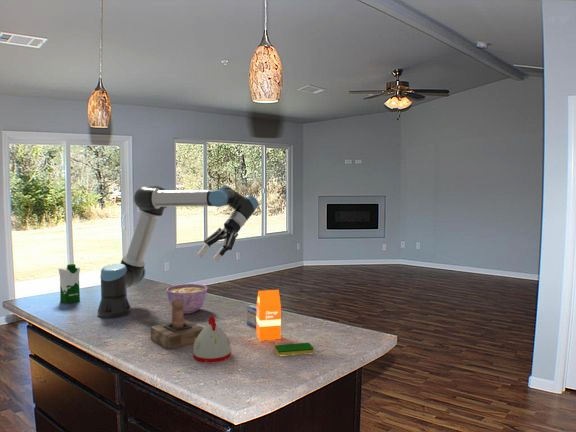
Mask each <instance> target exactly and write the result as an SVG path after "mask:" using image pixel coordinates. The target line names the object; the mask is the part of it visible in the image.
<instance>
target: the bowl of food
mask: <svg viewBox="0 0 576 432" xmlns="http://www.w3.org/2000/svg"><path fill="white" fill-rule="evenodd" d="M207 293H208V287H207V286H206V285H204V284H198V283H183V284H182V283H181V284H175V285H172V286H171V285H170V286H169V287H166V295H167V297H168V302H169V305H170V307H171V308H172V301H173V300H183V314H184V315H185V314H193V313H195V312H196V311H198V310H200V309H201V308H202V307H203V306H204V303H205V300H206V298H207V297H206V295H207Z"/></svg>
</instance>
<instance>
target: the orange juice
mask: <svg viewBox="0 0 576 432" xmlns="http://www.w3.org/2000/svg"><path fill="white" fill-rule="evenodd" d="M257 292H258V293H257V298H256V305H257V318H256V321H257V328H256V337H257V338H259V339H258V340H259V341H260V342H264V340H268V341H276V340H275V339H281V338H282V337H281V334H282V333H281V329H282V328H281V327H282V326H281V325H282V317H281V316H282V314H281V313H282V312H281V311H282V308H281V307H282V305H281V297H280V289H268V290H258V291H257Z"/></svg>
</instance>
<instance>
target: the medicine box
mask: <svg viewBox="0 0 576 432" xmlns="http://www.w3.org/2000/svg"><path fill="white" fill-rule="evenodd" d="M256 318H257V304H250V305H247V306H246V325H247V326H250V327H253V328H256V329H257V321H256Z"/></svg>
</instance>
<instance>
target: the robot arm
mask: <svg viewBox="0 0 576 432" xmlns="http://www.w3.org/2000/svg"><path fill="white" fill-rule="evenodd" d="M133 201H134V204H135V205H136V207H137V208H138V210H139V212H140V215H139V217H138V221H137V224H136V226H135V229H134V231H133V232H134V233H133V235H132V238H131V240H130V244H129V247H128V250H127V253H126V255H125V256H123V257H121V261H120V263H113V264H108V265H105V266H104V267H102V268H101V270H100V276H99V277H100V292H101V293H100V296H101V297H100V302H99V305H98V309H97V316H98V317H100V318H105V319H110V318H121V317H125V316H128V315H130V314H131V313H132V307H131V305H130V301H129V300H128V293H127V292H128V289H127V288H131V287H133V286H136V285H138V284H139V283H141V282H142V281H143V280H144V279H145V276H146V269H145V265H146V263H145V261H144V259H145V256H146V253H147V250H148V247H149V245H150V242H151V239H152V235H153V234H154V230H155V227H156V225H157V221H158V219H159V218H160V217H162V216H163V213H164V210H165V209H167V207H216V208H219V207H220V208H221V207H224V206H228V207H230V208H232V209H233V210H234V211H233V212H232V213H231V215H230V216H229V217H228V218H227V220H225V222H224V223H223V226H224V227H223V228H221V227H219V228H217V230H216V231H215V232H213V233H212V234H211V235H209V236H208V237H207V238H206V239H205V240H204V241H203V243H204V244H203V246H202V247H201V248H200V250H199V251H198V252H197V253H196V254H197V256H198V257H199V258H200V259H202V258H203V257H204V256H205V254H206V253H207V252H208V251H209V249H210V248H211V246H212V245H214V244H216V243H217V242H219V241H222V240H224V242H223V245H222V246H221V247H220V249H219V250H218V251H217V252H216V254H215V255H214V256H213V258H212V259H213V261H215V262H216V263H218V262H219V261H220V260H221V259H222V257H223V256H224V255H225V254H226V252H228V251H232V249H233V246H234V244H235V242H236V238H238V235H239V234H238V233H239V232H240V230H241V229H242V228H243V226H245V224H246V222H247V221H248V220H249V219H250V217H251V216H252V215H253V214H254V213H255V211H256V210H257V208H258V207H259V204H260V203H259V200H258V199H257V198H256V197H255V196H253V195H251V194H247V195H246V196H244V195H242V194H240V193H239V192H237V191H236V190H234V189H233V188H232V187H230V186H228V185H226V184H224V185H222V186H220V188H219V189H184V190H183V189H179V190H177V189H174V190H173V189H171V190H170V189H169V190H168V189H167V188H165V187H164V186H160V185H152V186H151V185H150V186H149V185H145V186H141V187H139V188H137V189H136V191H135V192H134V195H133Z"/></svg>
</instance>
